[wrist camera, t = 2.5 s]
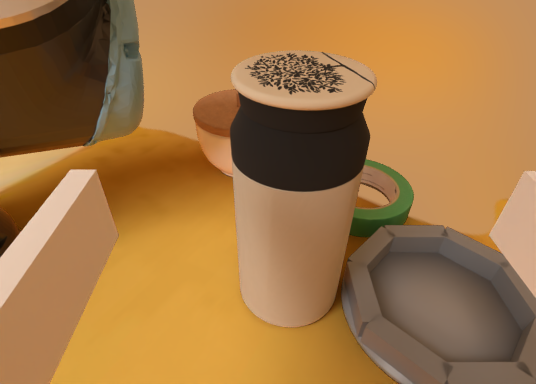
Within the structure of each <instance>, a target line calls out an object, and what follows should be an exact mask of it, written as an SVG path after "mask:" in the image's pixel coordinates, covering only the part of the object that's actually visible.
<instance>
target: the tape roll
mask: <svg viewBox="0 0 536 384" xmlns="http://www.w3.org/2000/svg"><path fill="white" fill-rule="evenodd" d="M360 184H363V185H366V186H368V187H371V188H373V189H375V190H377V191H379V192H381V193H382V194H383V195H384V196H385V197H386V198H387V199H388V201H389V204H387V205H384V206H382V207H376V208H361V207H355V210H354V214H353V219H352V223H351V228H350V233H349V235H352V236H358V237H371V236H372V235H373V234H374V233H375V232H376V231H377V230H378V229H379V228H380V227H381V226H382V227H384V226H385V225H403V224H404V223H405V221H406V219H407V217H408V214H409V211H410V208H411V206H412V202H413V198H414V194H413V190H412V188H411V186H410V184H409V183H408V181H407V180H406V179H405V178H404V177H403V176H402V175H400V174H399V173H398V172H396V171H394V170H393V169H391V168H389V167H387V166H385V165H383V164H380V163H377V162H374V161H370V160H366V159H365V164H364V168H363V173H362V178H361V182H360Z"/></svg>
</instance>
